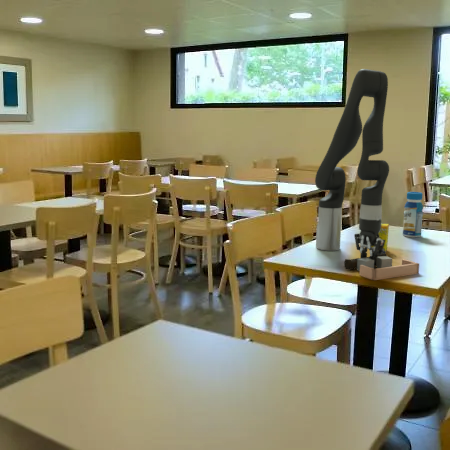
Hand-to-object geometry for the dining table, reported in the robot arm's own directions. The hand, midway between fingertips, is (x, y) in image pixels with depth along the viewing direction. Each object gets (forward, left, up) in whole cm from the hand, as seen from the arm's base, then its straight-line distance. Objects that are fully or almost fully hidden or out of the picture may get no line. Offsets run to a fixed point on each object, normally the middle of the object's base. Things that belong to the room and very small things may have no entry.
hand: (367, 264), depth 204 cm
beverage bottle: (-37, +58, -1) cm, 69 cm away
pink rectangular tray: (+11, 0, -1) cm, 11 cm away
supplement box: (-19, +22, -1) cm, 29 cm away
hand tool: (-1, 0, -1) cm, 2 cm away
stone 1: (+4, -4, -1) cm, 5 cm away
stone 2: (+4, +4, -1) cm, 6 cm away
